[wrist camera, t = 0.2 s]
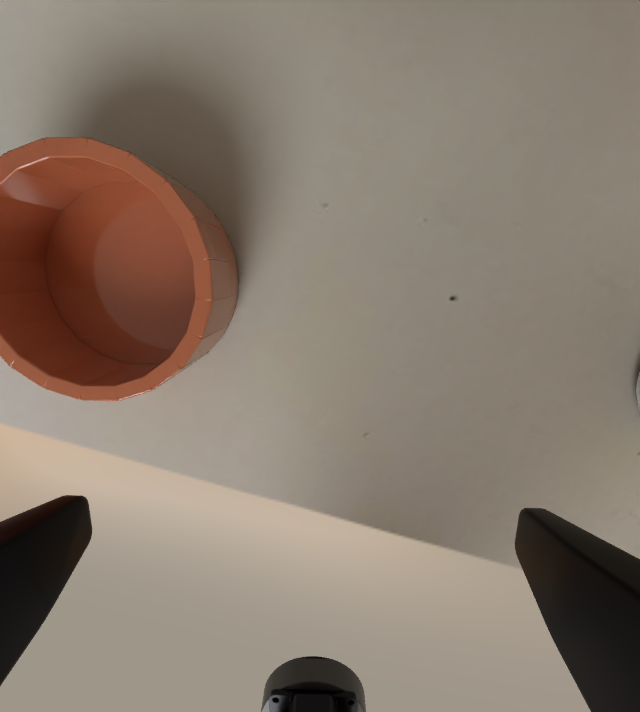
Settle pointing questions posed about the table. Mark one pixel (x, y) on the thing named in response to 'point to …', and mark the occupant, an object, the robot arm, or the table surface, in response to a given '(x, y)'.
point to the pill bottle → (638, 389)
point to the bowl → (106, 270)
